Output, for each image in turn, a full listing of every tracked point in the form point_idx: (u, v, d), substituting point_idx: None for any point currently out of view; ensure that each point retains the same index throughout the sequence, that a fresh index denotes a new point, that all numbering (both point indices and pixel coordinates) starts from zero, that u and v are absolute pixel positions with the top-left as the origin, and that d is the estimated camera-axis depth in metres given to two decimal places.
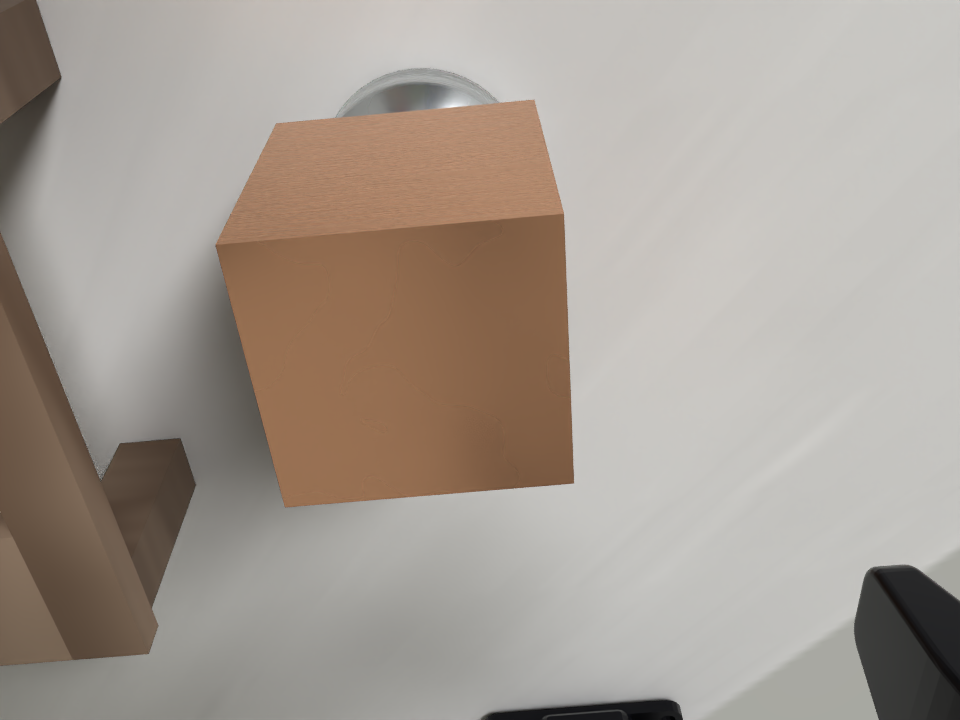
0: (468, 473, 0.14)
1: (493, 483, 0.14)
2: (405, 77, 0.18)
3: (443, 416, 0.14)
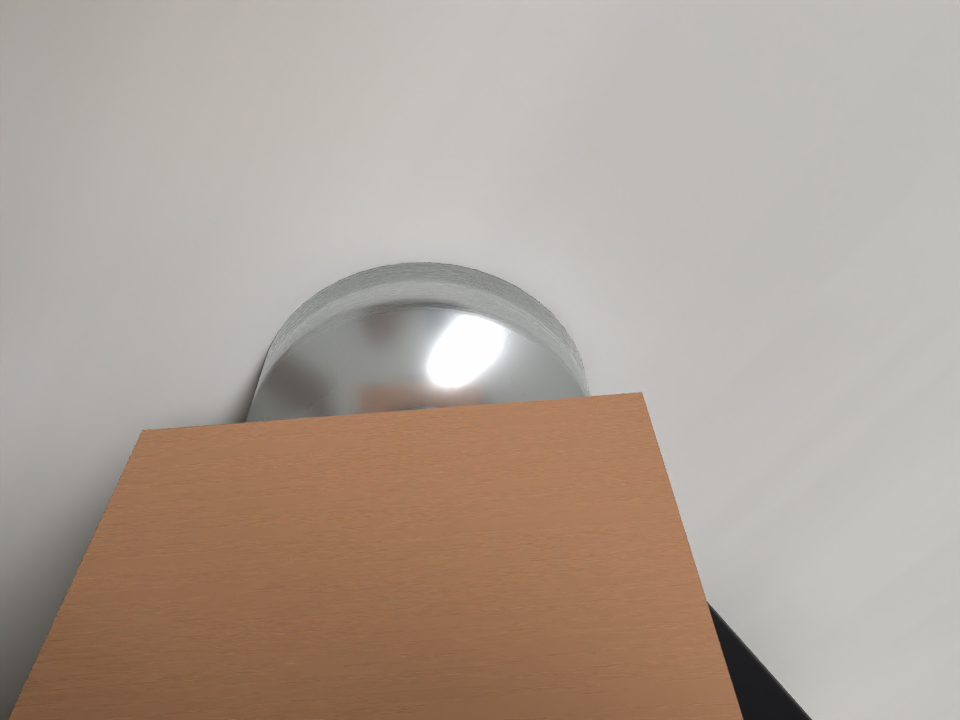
0: None
1: None
2: (394, 287, 0.11)
3: None
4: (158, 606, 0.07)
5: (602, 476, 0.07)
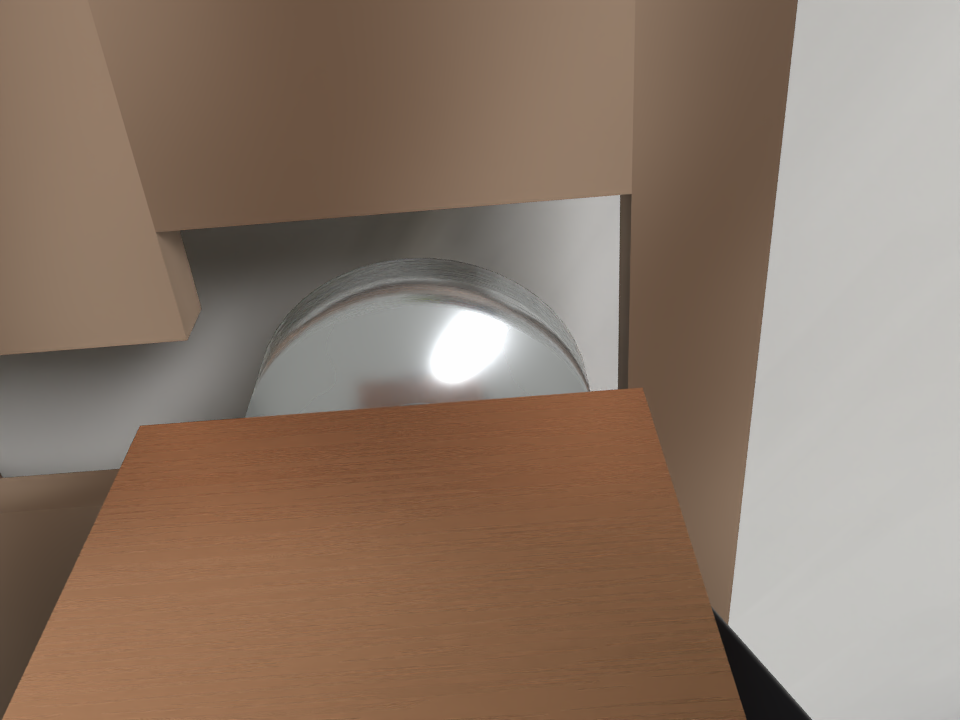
0: None
1: None
2: (394, 282, 0.11)
3: None
4: (155, 601, 0.07)
5: (603, 471, 0.07)
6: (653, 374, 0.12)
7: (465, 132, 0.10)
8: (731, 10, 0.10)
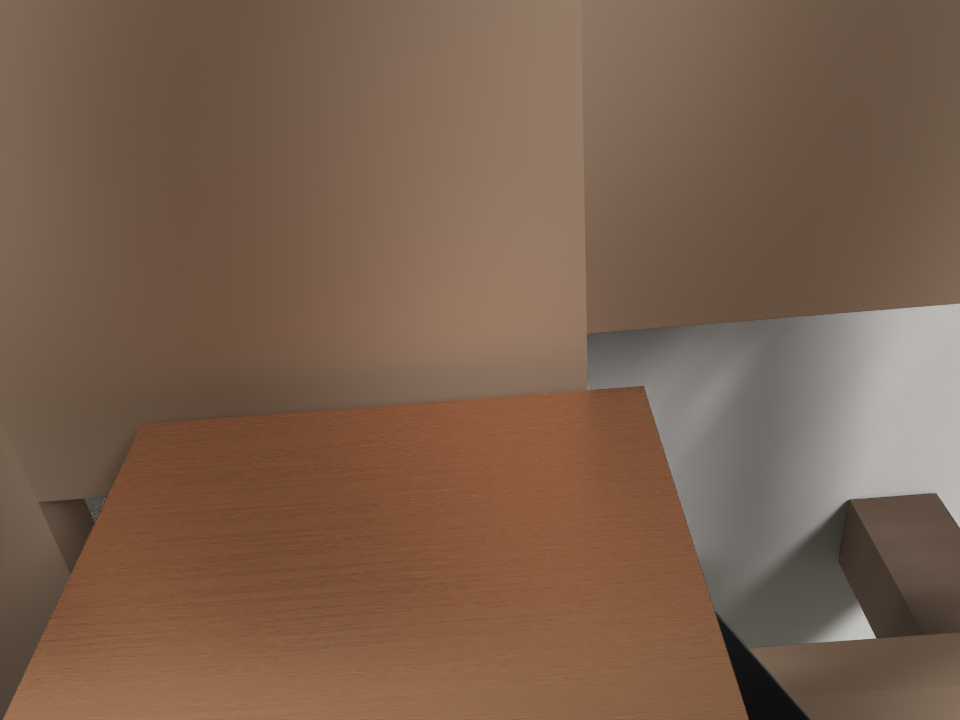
0: None
1: None
2: None
3: None
4: (157, 599, 0.07)
5: (604, 469, 0.07)
6: None
7: None
8: None
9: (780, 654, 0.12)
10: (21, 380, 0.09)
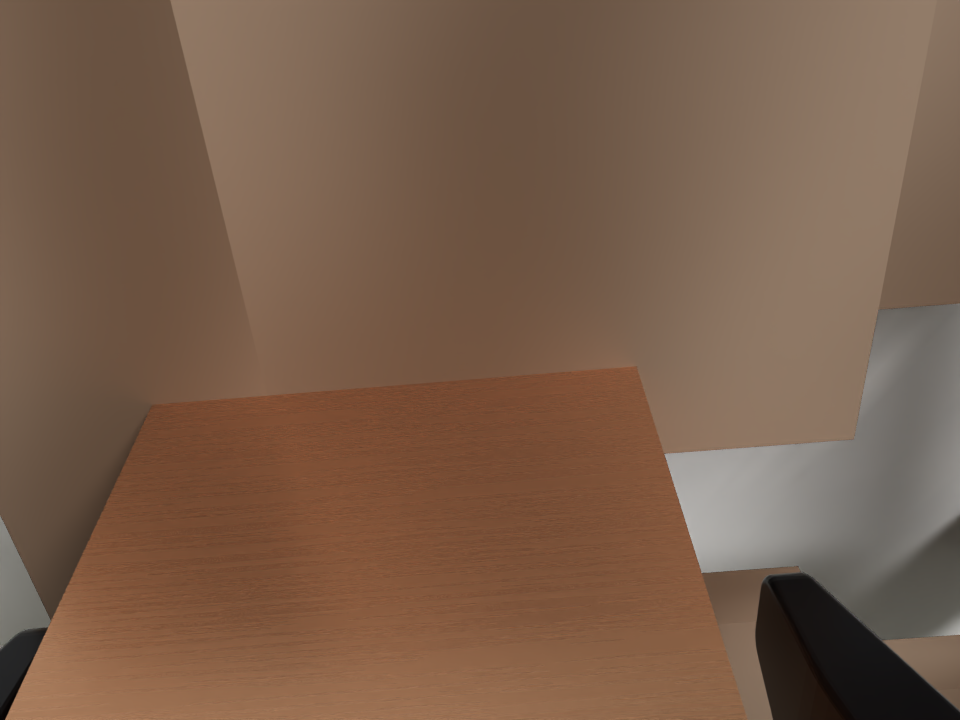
0: None
1: None
2: None
3: None
4: (170, 566, 0.07)
5: (597, 444, 0.08)
6: None
7: None
8: None
9: None
10: (296, 355, 0.08)
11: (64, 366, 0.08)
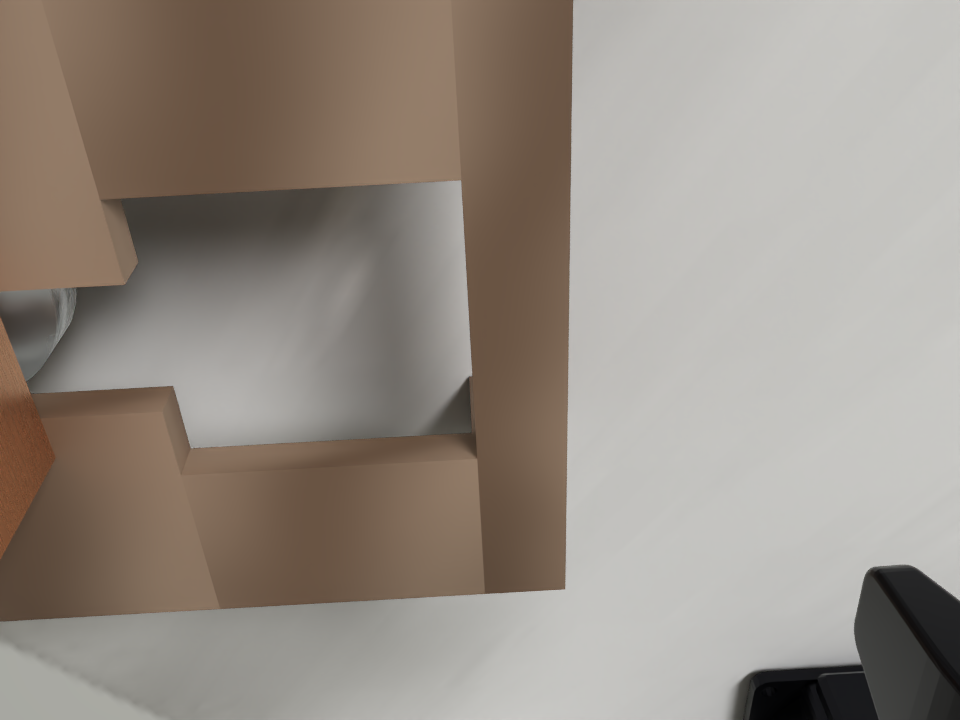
0: None
1: None
2: None
3: None
4: None
5: None
6: (488, 321, 0.16)
7: (333, 130, 0.14)
8: (524, 47, 0.13)
9: (319, 445, 0.18)
10: None
11: None
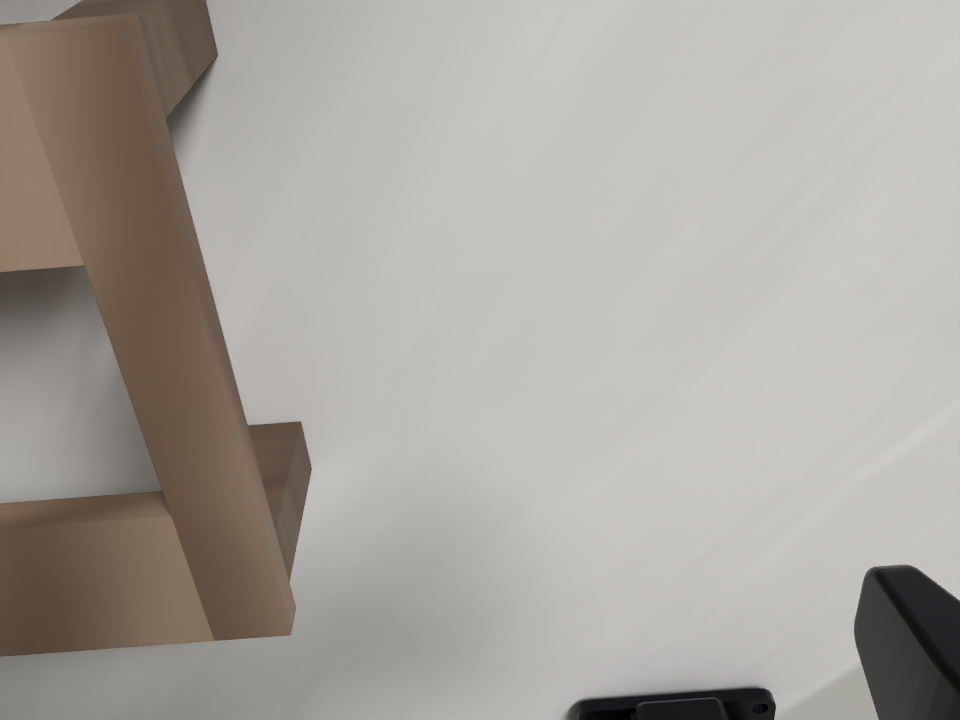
0: None
1: None
2: None
3: None
4: None
5: None
6: (146, 390, 0.17)
7: None
8: (109, 145, 0.14)
9: (31, 505, 0.19)
10: None
11: None
